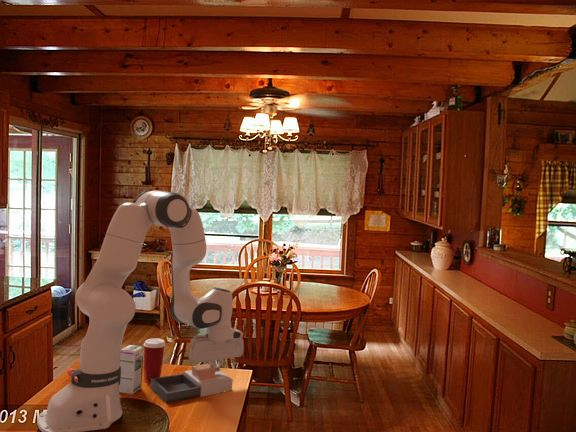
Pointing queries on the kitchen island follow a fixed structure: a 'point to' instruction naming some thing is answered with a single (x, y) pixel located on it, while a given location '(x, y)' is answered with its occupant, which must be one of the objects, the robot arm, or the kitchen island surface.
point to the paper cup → (153, 358)
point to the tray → (175, 388)
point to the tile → (203, 371)
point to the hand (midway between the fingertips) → (215, 371)
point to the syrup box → (131, 369)
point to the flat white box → (212, 383)
